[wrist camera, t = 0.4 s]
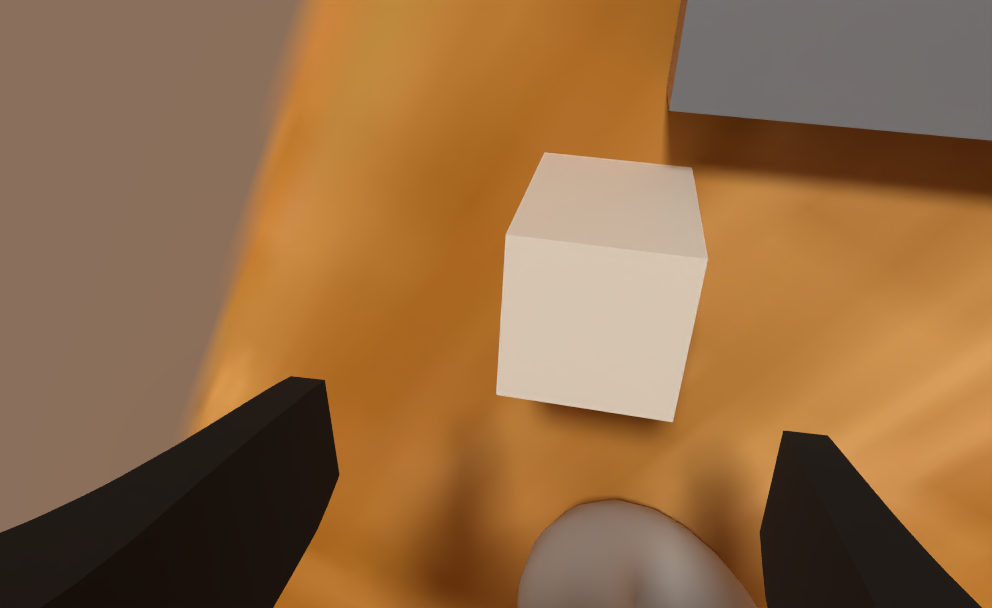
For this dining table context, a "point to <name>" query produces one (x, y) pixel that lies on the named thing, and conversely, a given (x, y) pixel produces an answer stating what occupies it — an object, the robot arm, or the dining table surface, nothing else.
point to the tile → (838, 63)
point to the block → (601, 286)
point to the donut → (625, 563)
